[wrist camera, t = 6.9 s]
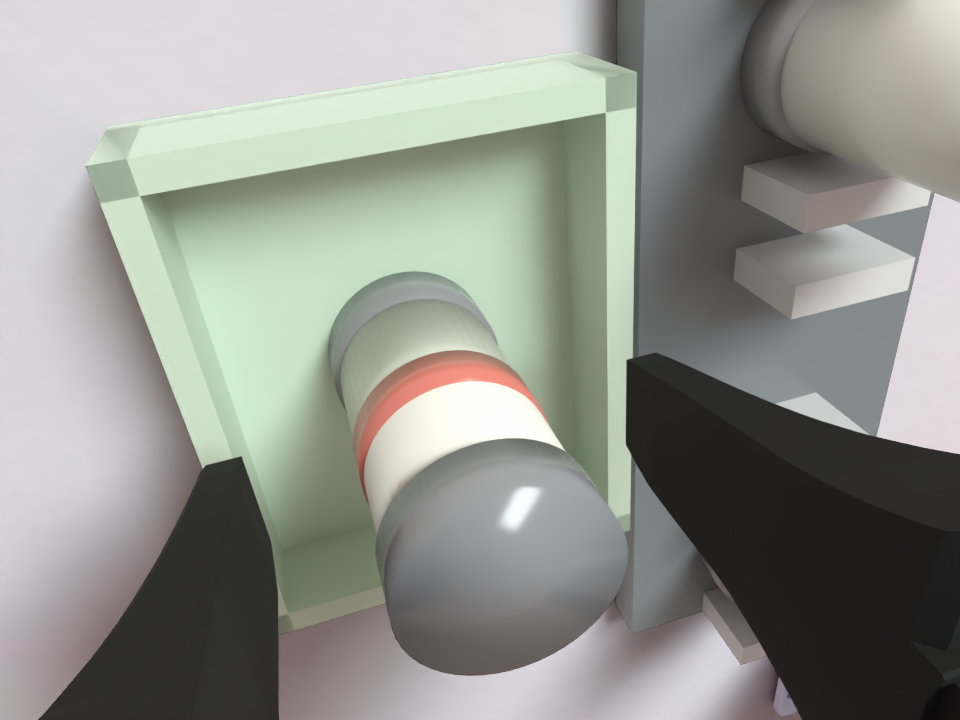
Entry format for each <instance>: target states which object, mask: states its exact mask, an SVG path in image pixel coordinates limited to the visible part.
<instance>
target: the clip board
mask: <svg viewBox="0 0 960 720" xmlns="http://www.w3.org/2000/svg"><path fill="white" fill-rule="evenodd" d="M766 1H767V0H617V65H618V66H621V67H624V68H626V69H629V70H632V71H635V72H637V105H636V171H635V236H634V302H633V358H636V357H640V356H643V355H647V354H651V353H655V352H656V353H659V354H661V355H664V356H666V357H669V358H671V359H674V360H676V361H678V362H681V363H683V364H685V365H687V366H689V367H692V368H694V369H696V370H698V371H700V372H703V373H705V374H707V375H709V376H711V377H714V378H716V379H718V380H720V381H722V382H725V383H727V384H729V385H731V386H734V387H736V388H738V389H740V390H743V391H745V392H747V393H750V394H752V395H754V396H757V397H759V398H762V399H764V400H767V401H769V402H771V403H774V404H777V405H779V406H782V407H784V408H787V409H790V410H792V411H795V412H798V413H800V414H803V415H806V416H809V417H812V418H814V419H817V420H820V421H823V422H827V423H830V424H833V425H837V426H840V427H843V428H846V429H850V430H853V431H856V432H860V433H863V434H867V435H871V436H875V437H876V436H877V432H878V428H879V423H880V419H881V415H882V411H883V407H884V402H885V398H886V394H887V390H888V386H889V381H890V377H891V373H892V369H893V365H894V360H895V356H896V352H897V348H898V344H899V339H900V335H901V331H902V327H903V323H904V318H905V314H906V310H907V306H908V302H909V298H910V293H911V289H912V285H913V281H914V277H915V272H916V268H917V264H918V260H919V256H920V251H921V247H922V243H923V239H924V235H925V230H926V226H927V222H928V218H929V214H930V209H931V205H932V201H933V197H934V192H931V191H929V190H926V189H923V188H921V187H918V186H915V185H913V184H910V183H907V182H905V181H902V180H899V179H897V178H894V177H891V176H889V175H886V174H884V173H881V172H878V171H876V170H873V169H870V168H868V167H865V166H862V165H860V164H857V163H854V162H852V161H849V160H846V159H844V158H841V157H838V156H836V155H821V154H816V153H813V152H810V151H808V150H805V149H802V148H800V147H797V146H795V145H792V144H789V143H787V142H784V141H782V140H779V139H777V138H774V137H771V136H770V135H768V134H766V133H765V132H763V131H762V130H761V129H760V128H759V127H758V126H757V125H756V124H755V123H754V121H753V120H752V119H751V117H750V115H749V113H748V111H747V109H746V106H745V103H744V100H743V96H742V91H741V80H740V78H741V63H742V56H743V51H744V47H745V43H746V40H747V38H748V35H749V32H750V29H751V27H752V25H753V23H754V21H755V19H756V17H757V15H758V13H759V12H760V10H761V8H762V7H763V5H764V4H765V2H766ZM624 533H625V536H626V539H627V545H628V563H627V568H626V572H625V576H624V579H623V581H622V584H621V586H620V588H619V590H618V592H617V594H616V606H617V608H618V610H619V612H620V613H621V615H622V617H623V619H624V620H625V622H626V624H627V626H628V627H629V629H630V631H631V633H632V634H635V633H638V632H641V631H644V630H647V629H650V628H653V627H656V626H659V625H662V624H665V623H668V622H671V621H674V620H677V619H680V618H683V617H687V616H690V615H693V614H696V613H699V612H702V611H704V613H705V614H706V616H707V617H708V618H709V620H710V621H711V623H712V624H713V626H714V627H715V628H716V630H717V631H718V633H719V634H720V636H721V637H722V639H723V640H724V641H725V643H726V644H727V646H728V647H729V649H730V650H731V652H732V653H733V654H734V656H735V657H736V659H737V660H738V662H739V663H740V664H741V665H742V664H745V663H748V662H751V661H754V660H757V659H760V658H762V657H765V656H767V655H766V653H765V652H764V650H763V648H762V646H761V645H760V643H759V641H758V639H757V638H756V636H755V634H754V633H753V631H752V629H751V628H750V626H749V624H748V623H747V621H746V620H745V618H744V616H743V615H742V613H741V611H740V610H739V608H738V606H737V605H736V603H735V602H733V601H731V600H729V599H728V598H727V597H726V596H725V594H724V593H723V592H722V590H721V589H720V588H719V586H718V585H717V584H716V582H715V581H714V580H713V578H712V577H711V576H710V574H709V573H708V571H707V570H706V569H705V567H704V566H703V564H702V563H701V560H700V555H699V551H698V550H697V549H696V547H695V546H694V545H693V543H692V542H691V541H690V540H689V538H688V537H687V536H686V534H685V533H684V532H683V530H682V529H681V528H680V527H679V525H678V524H677V523H676V521H675V520H674V519H673V517H672V516H671V515H670V514H669V512H668V511H667V510H666V508H665V507H664V506H663V504H662V503H661V502H660V500H659V499H658V498H657V496H656V495H655V494H654V492H653V491H652V490H651V488H650V487H649V485H648V484H647V482H646V480H645V478H644V477H643V475H642V473H641V472H640V470H639V468H638V466H637V464H636V463H635V461H634V459H633V457H632V455H631V499H630V530H629V531H626V532H624Z"/></svg>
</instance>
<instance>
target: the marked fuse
mask: <svg viewBox="0 0 960 720" xmlns="http://www.w3.org/2000/svg"><path fill="white" fill-rule="evenodd" d="M328 350H329V360H330V365H331V369H332V373H333V378H334V382H335V386H336V391H337V394H338V397H339V400H340V402H341V404H342V406H343V407H344V409H345V411H346V412H347V415H348V420H349V424H350V428H351V432H352V436H353V450H354V456H355V460H356V464H357V468H358V473H359V477H360V481H361V485H362V489H363V493H364V496H365V498H366V501H367V503H368V504H369V506H370V510H371V514H372V518H373V522H374V526H375V531H376V535H377V538H376V544H375V556H376V561H377V567H378V571H379V575H380V580H381V584H382V588H383V593H384V597H385V601H386V606H387V610H388V614H389V618H390V623H391V627H392V630H393V633H394V635H395V638H396V640H397V641H398V643H399V644H400V646H401V647H402V649H403V650H404V651H405V652H406V653H407V654H408V655H409V656H410V657H412V658H413V659H414V660H416V661H417V662H419V663H420V664H422V665H424V666H426V667H428V668H431V669H434V670H437V671H440V672H444V673H449V674H454V675H466V676H473V675H488V674H496V673H501V672H506V671H511V670H514V669H517V668H521V667H524V666H527V665H529V664H532V663H534V662H537V661H539V660H541V659H543V658H545V657H548V656H550V655H552V654H553V653H555V652H557V651H559V650H560V649H562V648H564V647H565V646H567V645H568V644H570V643H571V642H573V641H574V640H575V639H577V638H578V637H579V636H580V635H582V634H583V633H584V632H585V631H587V630H588V629H589V628H590V627H591V626H592V625H593V624H594V623H595V622H596V621H597V620H598V619H599V618H600V617H601V615H602V614H603V613H604V612H605V611H606V609H607V608H608V607H609V605H610V604H611V602H612V601H613V599H614V598H615V596H616V594H617V592H618V590H619V588H620V586H621V584H622V581H623V579H624V576H625V572H626V568H627V563H628V545H627V539H626V536H625V533H624V530H623V528H622V526H621V525H620V523H619V521H618V519H617V518H616V516H615V515H614V513H613V512H612V510H611V509H610V507H609V506H608V504H607V503H606V501H605V500H604V498H603V496H602V495H601V493H600V492H599V490H598V489H597V487H596V486H595V484H594V483H593V481H592V480H591V478H590V477H589V475H588V474H587V472H586V471H585V469H584V468H583V467H582V466H581V464H580V463H579V462H578V461H577V460H576V459H575V458H574V457H572V456H571V455H570V454H569V453H567V452H566V451H565V450H564V448H563V447H562V445H561V444H560V442H559V440H558V439H557V437H556V436H555V434H554V433H553V431H552V429H551V428H550V426H549V423H548V420H547V418H546V416H545V414H544V412H543V410H542V409H541V407H540V406H539V404H538V403H537V401H536V399H535V398H534V396H533V395H532V393H531V392H530V390H529V389H528V387H527V386H526V384H525V383H524V381H523V380H522V378H521V377H520V376H519V375H518V373H517V372H516V371H514V370H513V369H512V367H511V366H510V364H509V363H508V361H507V359H506V358H505V356H504V355H503V353H502V352H501V350H500V349H499V347H498V342H497V339H496V336H495V334H494V331H493V330H492V328H491V326H490V324H489V323H488V321H487V320H486V318H485V317H484V315H483V314H482V312H481V311H480V309H479V308H478V306H477V304H476V303H475V301H474V300H473V299H472V297H471V296H470V295H469V294H468V293H467V292H466V291H465V290H464V289H463V288H462V287H461V286H459V285H458V284H456V283H455V282H453V281H451V280H449V279H448V278H446V277H443V276H440V275H437V274H433V273H428V272H418V271H411V272H401V273H395V274H391V275H388V276H385V277H382V278H380V279H377V280H375V281H373V282H371V283H369V284H368V285H366V286H364V287H363V288H362V289H360V290H359V291H358V292H356V293H355V294H354V295H353V296H352V297H351V298H350V299H349V300H348V301H347V302H346V304H345V305H344V306H343V307H342V309H341V310H340V312H339V314H338V315H337V317H336V319H335V321H334V324H333V326H332V329H331V333H330V336H329V345H328Z"/></svg>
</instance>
